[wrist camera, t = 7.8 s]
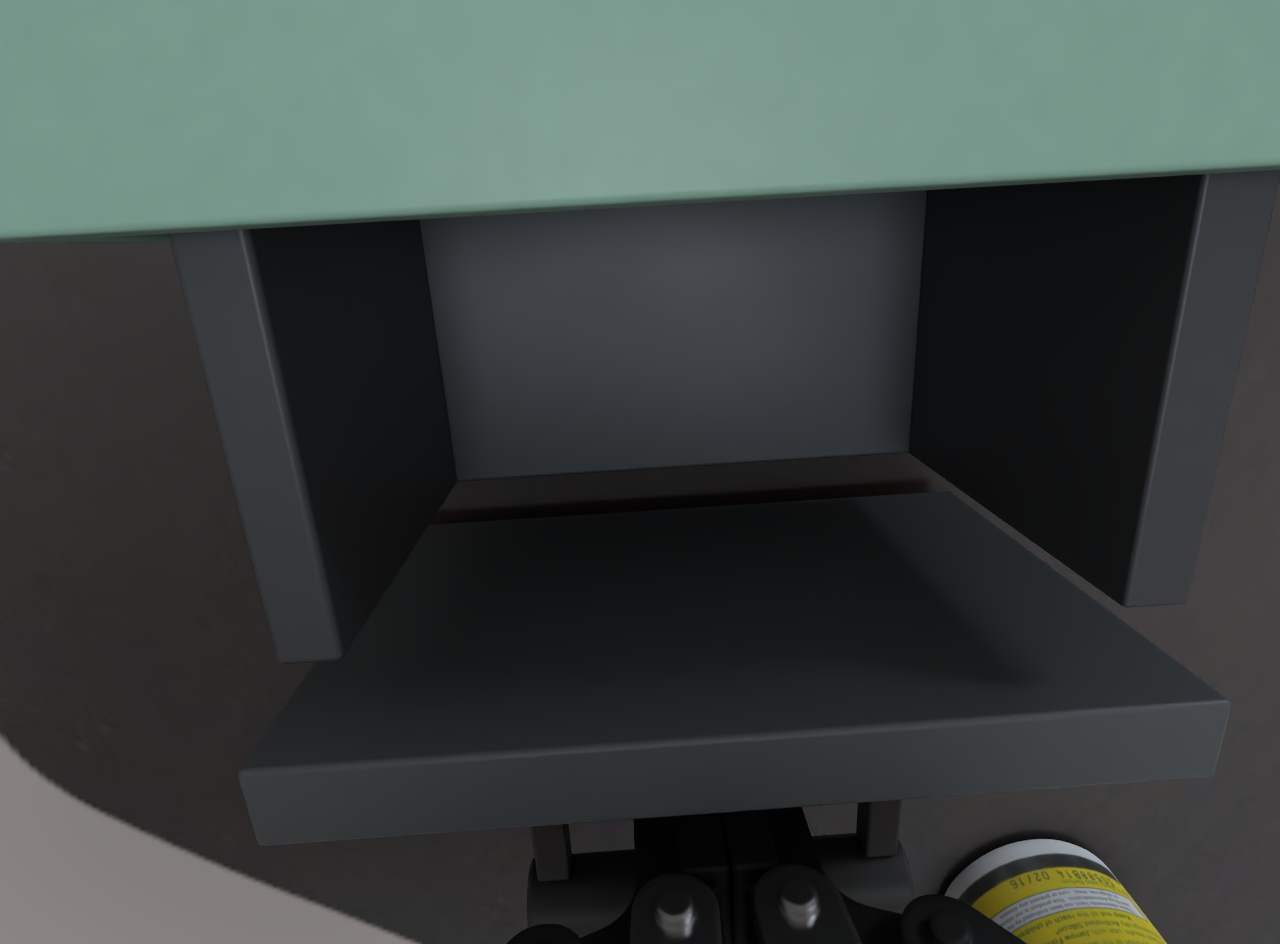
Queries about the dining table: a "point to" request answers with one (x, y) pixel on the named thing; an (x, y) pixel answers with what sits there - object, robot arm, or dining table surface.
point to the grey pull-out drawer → (726, 507)
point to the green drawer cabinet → (600, 104)
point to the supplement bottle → (1053, 895)
